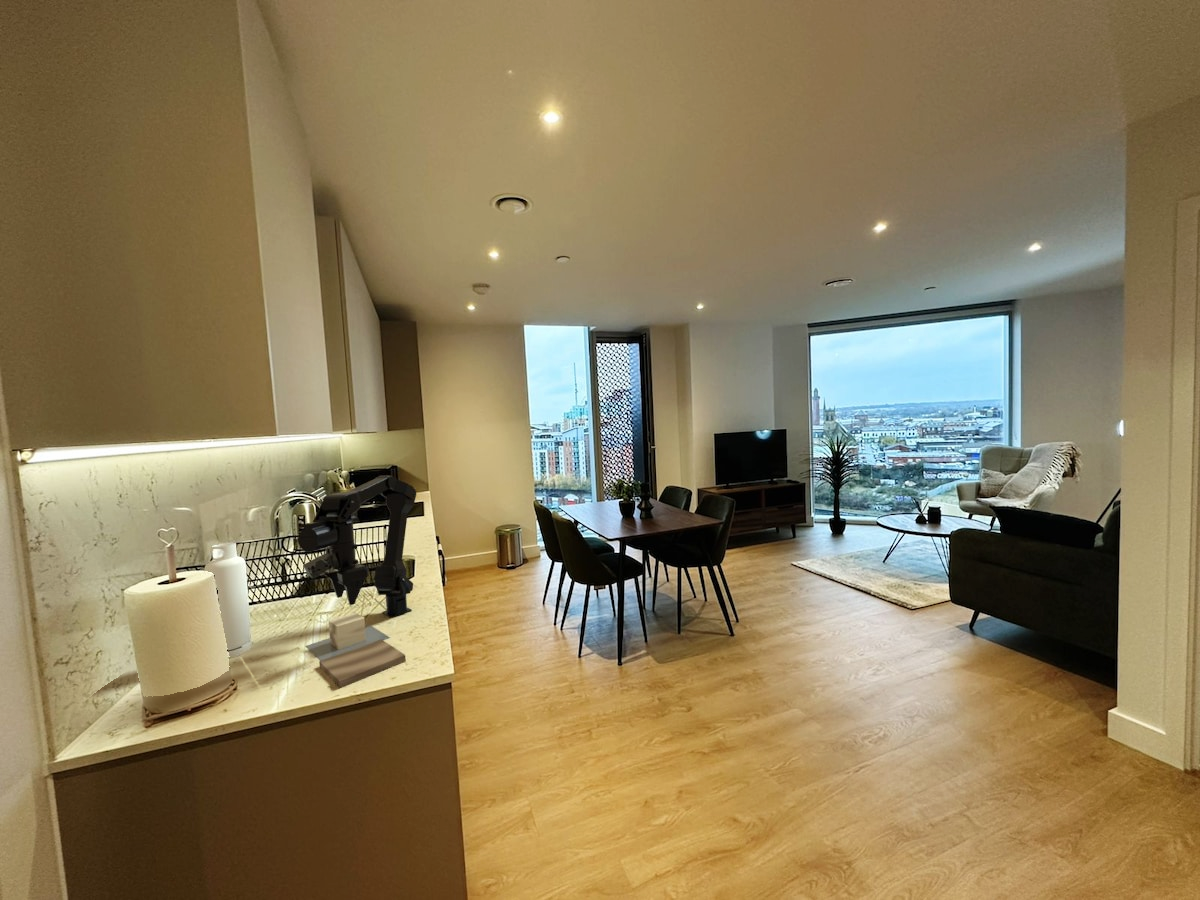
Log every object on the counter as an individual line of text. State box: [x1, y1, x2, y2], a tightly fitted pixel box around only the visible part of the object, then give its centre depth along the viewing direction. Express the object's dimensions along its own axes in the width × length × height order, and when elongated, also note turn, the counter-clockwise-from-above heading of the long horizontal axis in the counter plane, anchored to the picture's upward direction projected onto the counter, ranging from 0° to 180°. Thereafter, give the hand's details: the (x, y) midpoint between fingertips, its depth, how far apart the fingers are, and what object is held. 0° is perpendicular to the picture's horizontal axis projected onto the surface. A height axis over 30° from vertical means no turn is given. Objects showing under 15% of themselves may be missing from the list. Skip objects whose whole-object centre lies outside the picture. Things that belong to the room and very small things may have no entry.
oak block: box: [328, 612, 366, 650], centre depth 116 cm, size 6×6×6 cm
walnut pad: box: [318, 639, 407, 689], centre depth 104 cm, size 14×14×2 cm
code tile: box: [304, 624, 391, 661], centre depth 116 cm, size 14×16×1 cm
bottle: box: [204, 542, 253, 659], centre depth 113 cm, size 8×8×28 cm
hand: (345, 600), depth 116 cm, fingers open, 9 cm apart
